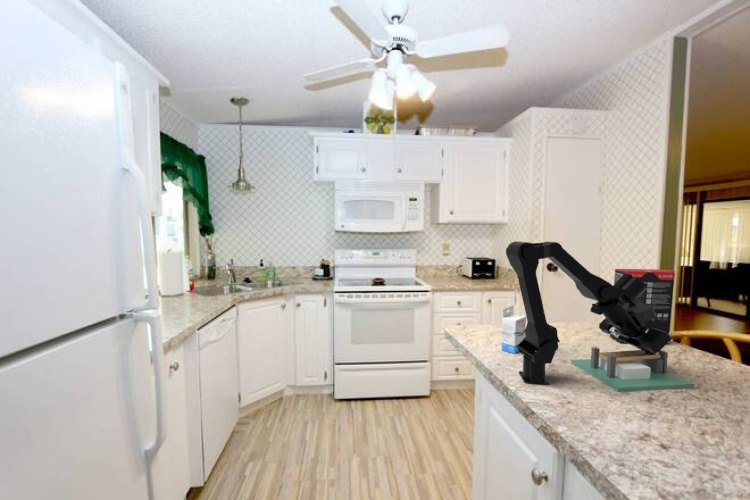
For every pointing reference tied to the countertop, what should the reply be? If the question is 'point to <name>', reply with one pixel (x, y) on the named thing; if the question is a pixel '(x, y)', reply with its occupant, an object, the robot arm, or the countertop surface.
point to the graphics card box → (652, 295)
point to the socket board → (635, 383)
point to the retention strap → (630, 355)
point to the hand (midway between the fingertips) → (648, 351)
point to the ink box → (512, 330)
